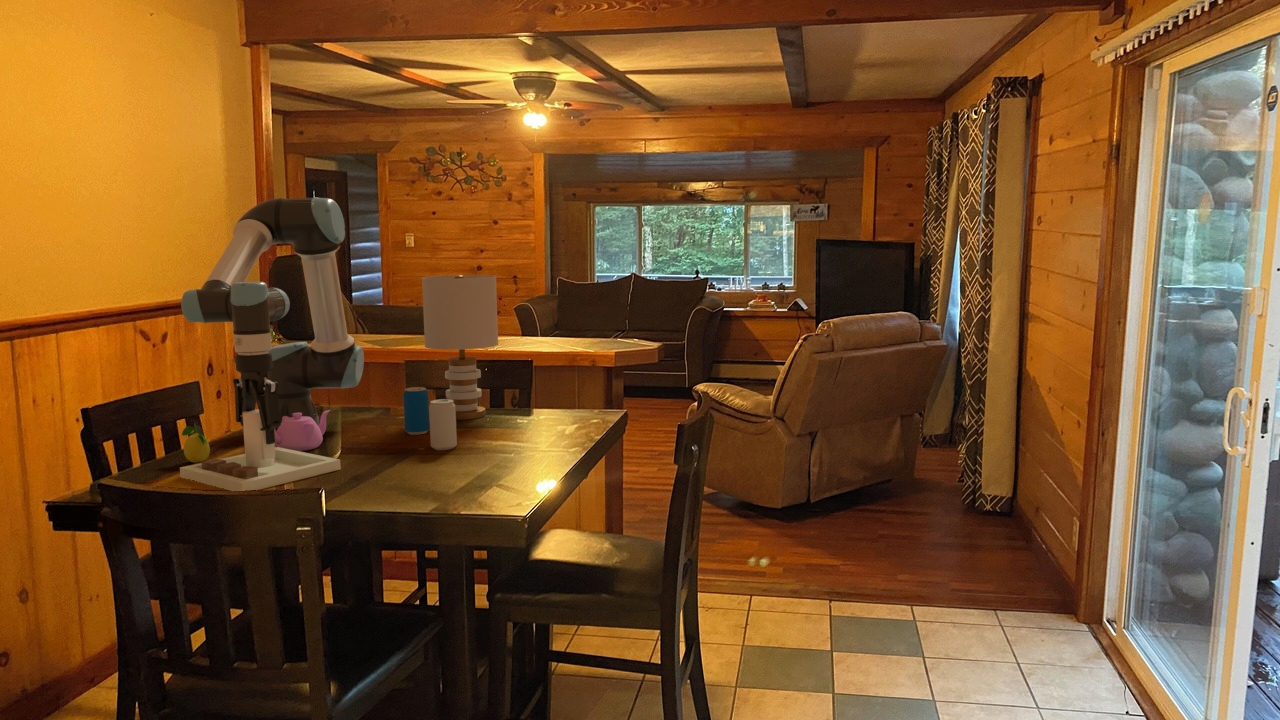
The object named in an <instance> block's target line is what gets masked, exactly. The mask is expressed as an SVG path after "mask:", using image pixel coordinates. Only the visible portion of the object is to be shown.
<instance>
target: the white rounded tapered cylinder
mask: <svg viewBox="0 0 1280 720" xmlns="http://www.w3.org/2000/svg"><path fill="white" fill-rule="evenodd" d="M243 426H244V435H243V442H244V441H245V445H244V454H245V455H246V466H251V467H258V468H264V467H269V466H273V465H275V458H270V459H266V460H264V459H263V458H262V443H261V430H260V429H261V428H263V426H262V422H261V417H260V413H259V409H258V408H255V410H250V411H244V412H243ZM243 426H242V427H243Z"/></svg>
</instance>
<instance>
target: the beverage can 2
mask: <svg viewBox="0 0 1280 720" xmlns="http://www.w3.org/2000/svg"><path fill="white" fill-rule="evenodd" d="M429 402H430V404H429V424H430V430H429V435H430V440H429V441H430V447H431V448H432V449H433V450H436V451H449V450H452V449H454V448H455V447H456V446H457V445H458V443H457V442H458V438H457V420H456V413H455V404H454V403H453V400H451V399H448V398H441V399H433V400H430V401H429Z"/></svg>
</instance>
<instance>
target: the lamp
mask: <svg viewBox="0 0 1280 720" xmlns="http://www.w3.org/2000/svg"><path fill="white" fill-rule="evenodd" d="M421 282H422V283H421V287H422V288H421V289H422V307H423V308H422V309H423V327H424V329H423V331H424V332H423V333H424V348H425V349H426V348H427V349H430V350H440V351H441V350H443V351H444V350H448V351H453V350H454V351H455V350H456V351H457V350H458V353H459V354H458V355H459V356H457V357H456V356H455V357H450V358H448V362H447V363H448V370H445V371H444V378H445V379H446V380H448V381H449V382H448V383H449V389H446V390H445V399H451V400H453V403H454V404H455V413H456V421H457V420H458V421H459V420H475V419H480V418H483V417H485V416H486V407H484V406H478V403H479V399H478V398H481V397H482V388H479V387H478V379H481V378H482V376H481V375H482V372H481V371H482V370H481V369H478V368H477V357H474V356H466V350H477V349H486V348H492V347H495V346H496V347H497V346H498V345H499V330H498V329H499V328H498V325H499V324H498V305H497V304H498V302H497V301H498V299H497V276H496V275H489V274H488V275H486V274H485V275H484V274H482V275H481V274H472V275H471V274H468V275H467V274H464V275H461V274H459V275H457V274H456V275H455V274H454V275H438V276H437V275H434V276H425V277H424V276H423V277H421Z"/></svg>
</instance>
